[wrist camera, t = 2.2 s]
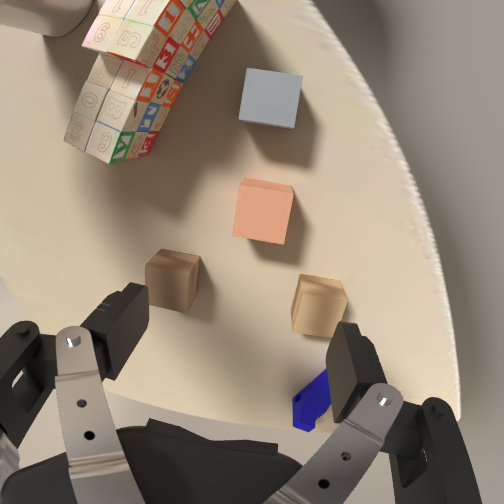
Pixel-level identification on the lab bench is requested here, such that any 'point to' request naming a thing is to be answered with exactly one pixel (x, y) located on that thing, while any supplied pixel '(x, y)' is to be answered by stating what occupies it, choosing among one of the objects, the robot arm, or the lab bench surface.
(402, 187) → the lab bench surface
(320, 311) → the oak block
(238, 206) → the terracotta block
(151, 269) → the tan block
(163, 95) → the stack of blocks
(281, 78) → the gray block
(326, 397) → the blue cradle bracket
